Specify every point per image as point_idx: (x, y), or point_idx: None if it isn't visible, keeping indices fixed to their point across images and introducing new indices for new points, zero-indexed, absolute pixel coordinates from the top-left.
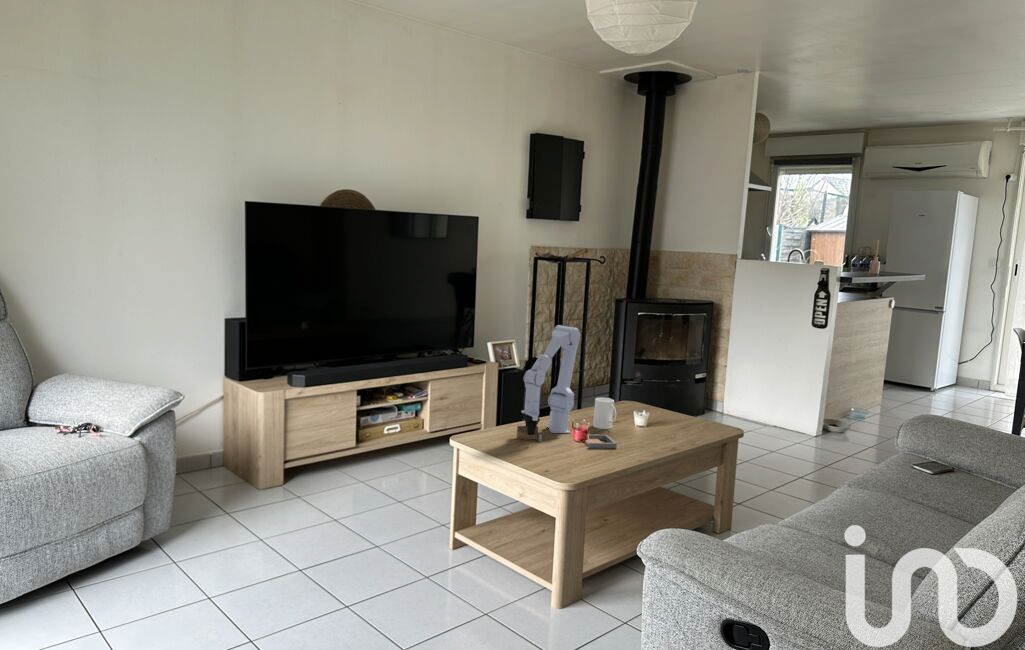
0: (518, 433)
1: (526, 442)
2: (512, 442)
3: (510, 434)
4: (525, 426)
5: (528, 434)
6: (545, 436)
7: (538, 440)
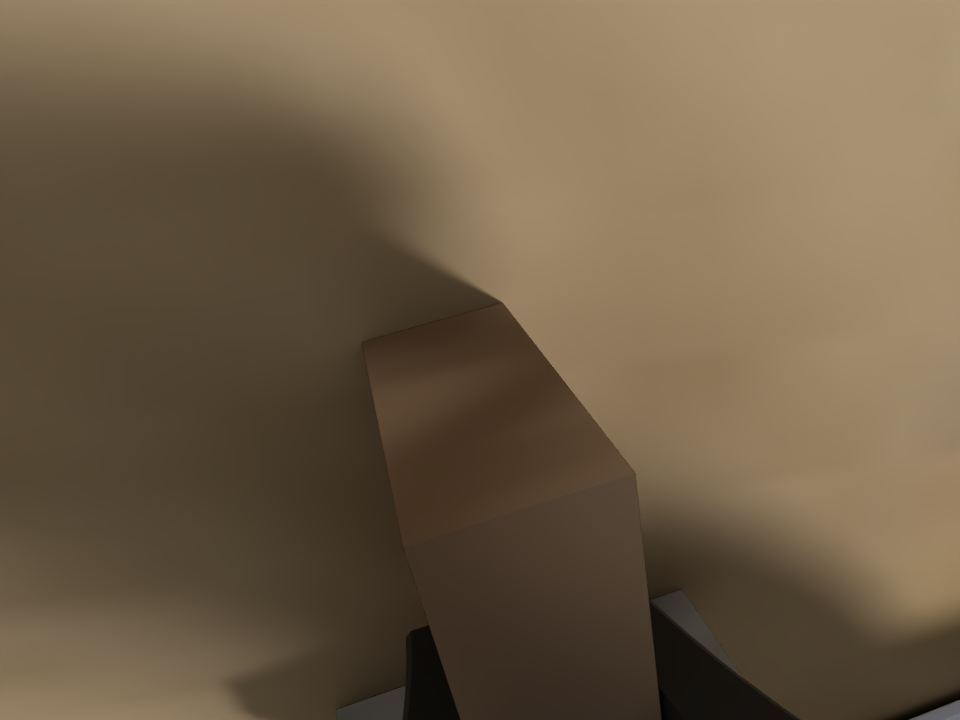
0: (383, 429)
1: (209, 538)
2: (41, 235)
3: (766, 138)
4: (588, 699)
5: (409, 637)
6: None
7: (383, 706)
